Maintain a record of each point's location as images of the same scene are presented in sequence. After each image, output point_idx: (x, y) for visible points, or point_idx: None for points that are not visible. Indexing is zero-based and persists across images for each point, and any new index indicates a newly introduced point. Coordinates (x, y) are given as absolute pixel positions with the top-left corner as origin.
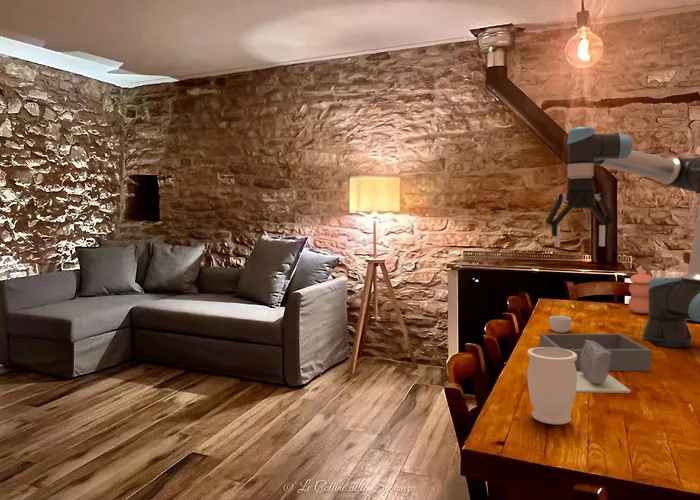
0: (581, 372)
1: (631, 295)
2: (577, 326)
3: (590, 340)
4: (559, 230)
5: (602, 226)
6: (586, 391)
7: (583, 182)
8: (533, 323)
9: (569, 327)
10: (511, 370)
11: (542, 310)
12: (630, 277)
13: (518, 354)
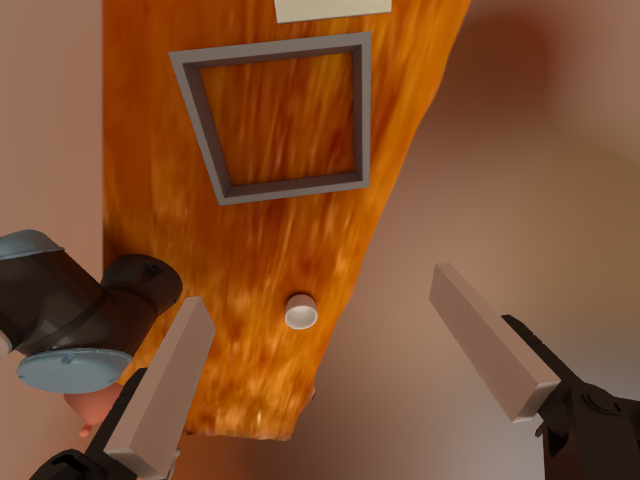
0: (325, 10)
1: (178, 453)
2: (270, 330)
3: (277, 187)
4: (511, 344)
5: (136, 435)
6: None
7: None
8: (328, 336)
9: (288, 301)
10: (449, 34)
11: (301, 394)
12: None
13: (400, 158)
